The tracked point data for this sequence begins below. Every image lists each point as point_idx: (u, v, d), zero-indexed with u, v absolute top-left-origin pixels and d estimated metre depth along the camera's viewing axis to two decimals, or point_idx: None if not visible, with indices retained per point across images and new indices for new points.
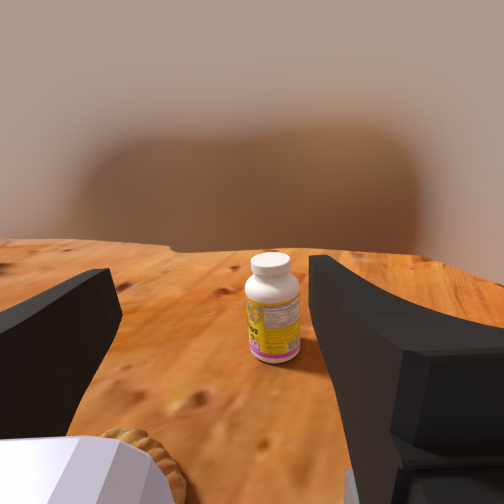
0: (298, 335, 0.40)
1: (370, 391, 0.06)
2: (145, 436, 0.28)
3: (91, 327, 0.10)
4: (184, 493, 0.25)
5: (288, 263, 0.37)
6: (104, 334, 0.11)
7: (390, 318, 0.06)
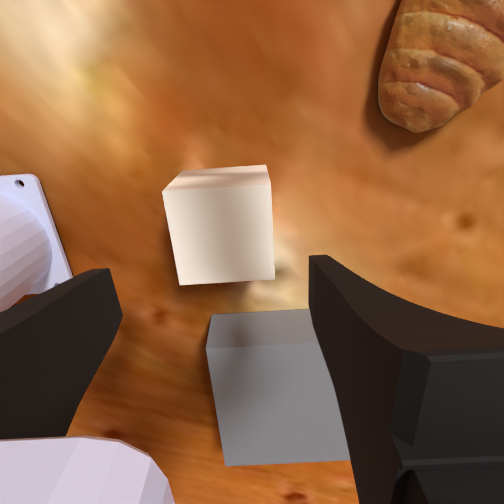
0: None
1: (370, 391, 0.06)
2: None
3: (91, 327, 0.10)
4: (422, 131, 0.17)
5: None
6: (104, 334, 0.11)
7: (389, 318, 0.06)
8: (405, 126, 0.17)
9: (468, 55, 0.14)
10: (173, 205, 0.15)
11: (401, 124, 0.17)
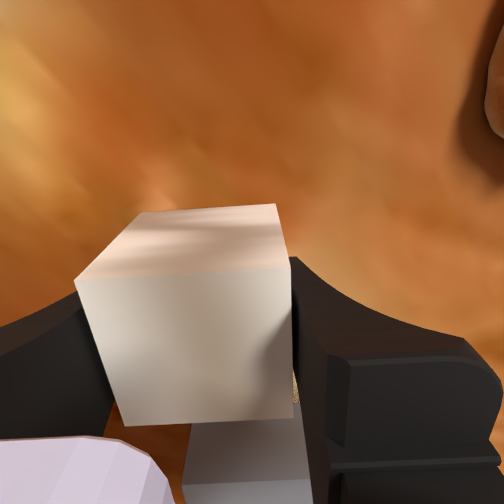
0: None
1: (314, 394, 0.06)
2: None
3: None
4: None
5: None
6: None
7: (335, 321, 0.06)
8: None
9: None
10: (99, 304, 0.08)
11: None
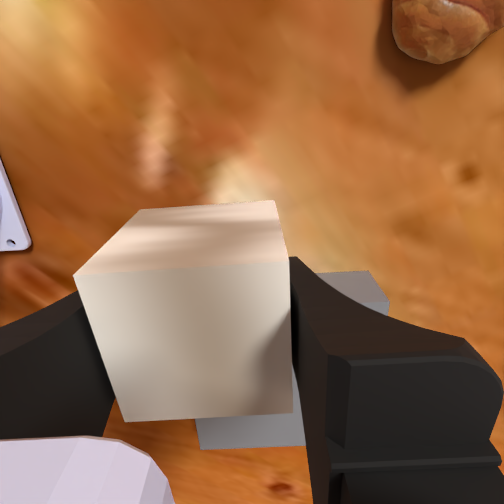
0: None
1: (314, 394, 0.06)
2: None
3: None
4: (445, 61, 0.15)
5: None
6: None
7: (335, 321, 0.06)
8: (425, 57, 0.15)
9: None
10: (98, 299, 0.08)
11: (420, 55, 0.15)
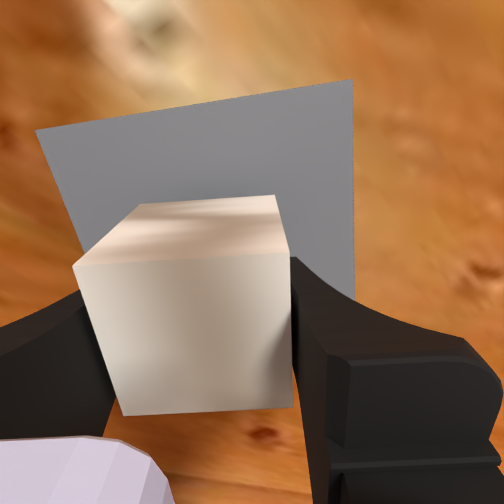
0: None
1: (314, 394, 0.06)
2: None
3: None
4: None
5: None
6: None
7: (335, 321, 0.06)
8: None
9: None
10: (97, 290, 0.08)
11: None
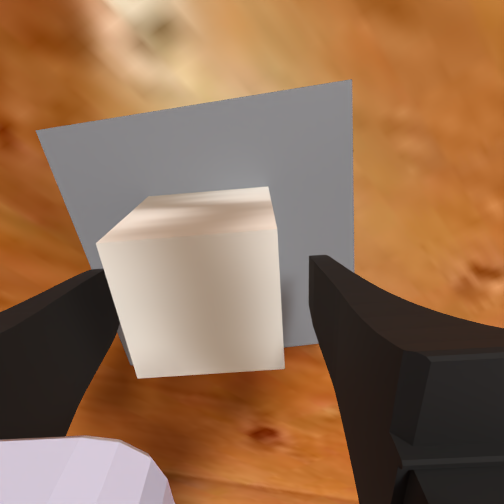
0: None
1: (370, 391, 0.06)
2: None
3: (91, 327, 0.10)
4: None
5: None
6: (104, 334, 0.11)
7: (390, 318, 0.06)
8: None
9: None
10: (116, 264, 0.09)
11: None
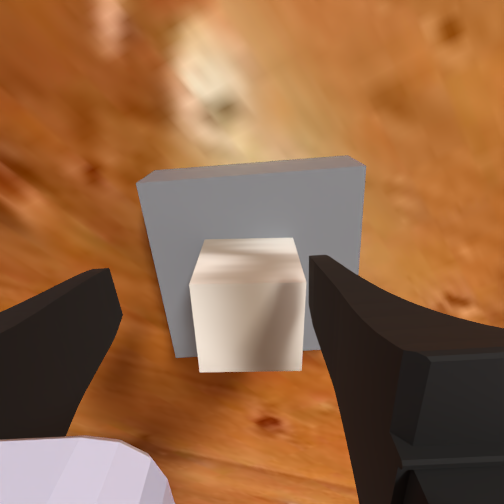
0: None
1: (370, 391, 0.06)
2: None
3: (91, 327, 0.10)
4: None
5: None
6: (104, 334, 0.11)
7: (390, 318, 0.06)
8: None
9: None
10: (199, 298, 0.14)
11: None
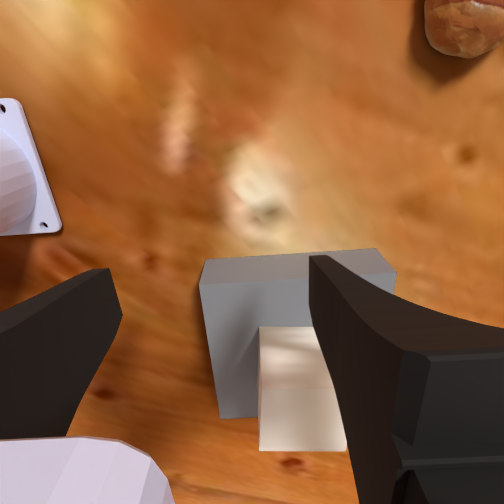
0: None
1: (370, 391, 0.06)
2: None
3: (91, 327, 0.10)
4: (477, 55, 0.16)
5: None
6: (104, 334, 0.11)
7: (389, 318, 0.06)
8: (457, 53, 0.17)
9: None
10: (269, 398, 0.17)
11: (453, 51, 0.17)
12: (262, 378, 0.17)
